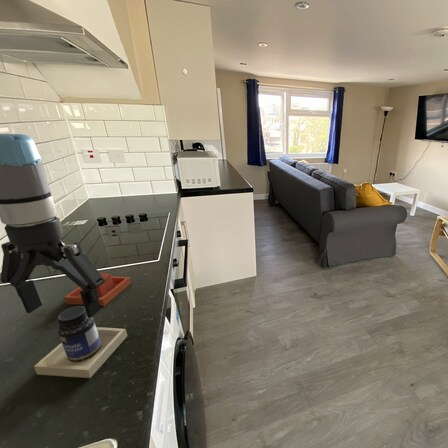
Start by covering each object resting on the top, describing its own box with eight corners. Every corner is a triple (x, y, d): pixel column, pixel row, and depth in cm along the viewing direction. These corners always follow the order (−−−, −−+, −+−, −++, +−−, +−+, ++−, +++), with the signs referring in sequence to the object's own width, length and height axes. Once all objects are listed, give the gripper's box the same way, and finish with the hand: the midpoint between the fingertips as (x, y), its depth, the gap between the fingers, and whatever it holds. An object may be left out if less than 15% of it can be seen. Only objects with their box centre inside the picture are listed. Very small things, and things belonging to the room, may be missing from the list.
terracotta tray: (66, 303, 76) (63, 297, 75) (97, 281, 87) (95, 275, 86) (104, 306, 75) (102, 299, 75) (130, 283, 86) (129, 277, 85)
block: (86, 296, 79) (81, 281, 77) (99, 286, 83) (95, 272, 81) (102, 296, 78) (98, 282, 77) (114, 287, 83) (110, 273, 81)
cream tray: (37, 374, 55) (33, 366, 54) (82, 333, 66) (80, 326, 65) (90, 378, 54) (87, 370, 53) (127, 336, 65) (125, 328, 64)
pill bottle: (60, 363, 57) (44, 323, 53) (81, 341, 62) (68, 303, 58) (90, 363, 57) (75, 322, 53) (108, 341, 63) (96, 303, 59)
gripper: (110, 217, 52) (131, 303, 60) (-8, 210, 53) (27, 296, 61) (79, 231, 45) (107, 327, 53) (-57, 223, 46) (-10, 319, 54)
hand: (64, 311), depth 57 cm, fingers open, 13 cm apart
